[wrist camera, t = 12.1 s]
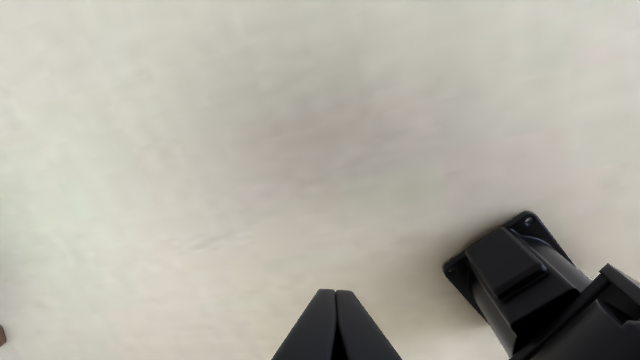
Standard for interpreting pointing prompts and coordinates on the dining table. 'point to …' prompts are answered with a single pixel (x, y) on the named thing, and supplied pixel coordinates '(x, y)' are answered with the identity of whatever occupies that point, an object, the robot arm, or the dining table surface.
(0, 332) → the walnut bay
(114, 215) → the dining table surface
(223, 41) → the dining table surface
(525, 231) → the robot arm
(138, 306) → the dining table surface
